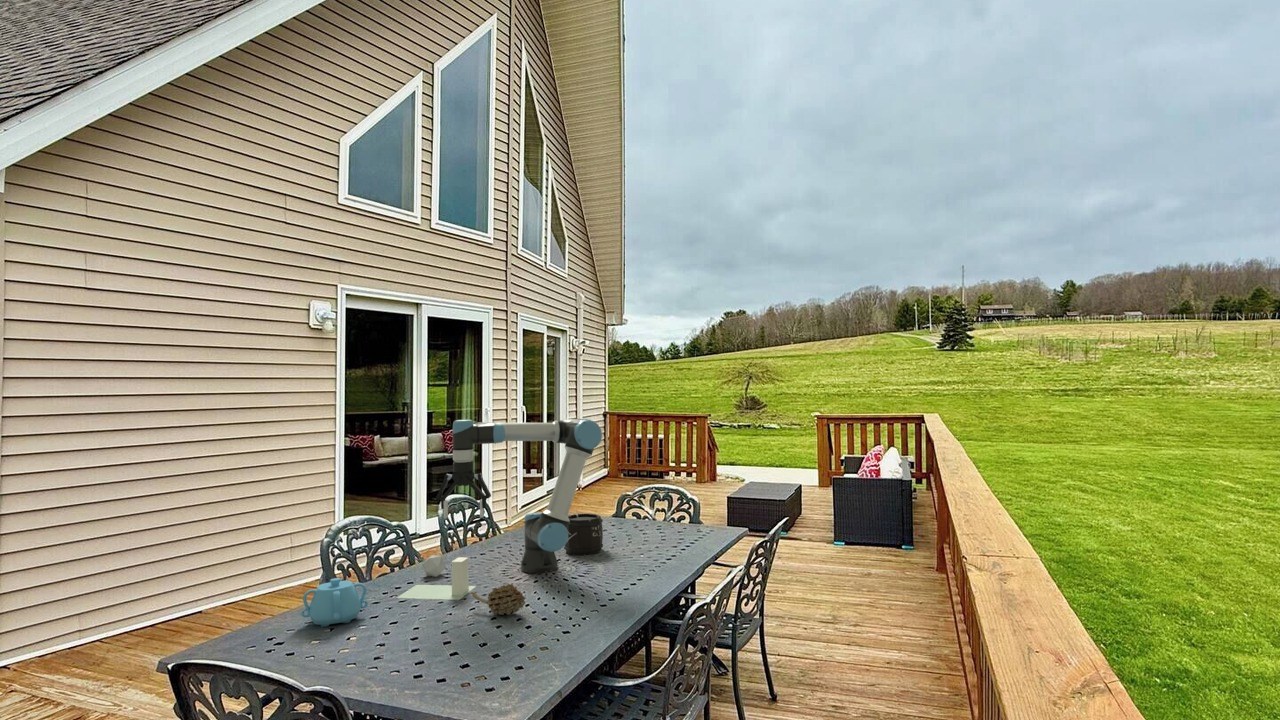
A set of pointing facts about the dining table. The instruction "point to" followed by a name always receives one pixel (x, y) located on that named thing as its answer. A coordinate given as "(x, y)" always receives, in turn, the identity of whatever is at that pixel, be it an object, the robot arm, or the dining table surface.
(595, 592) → the dining table surface
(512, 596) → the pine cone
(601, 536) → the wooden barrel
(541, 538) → the robot arm
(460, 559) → the beige rectangular block
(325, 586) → the decorative pot
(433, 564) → the die
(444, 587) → the green mat
